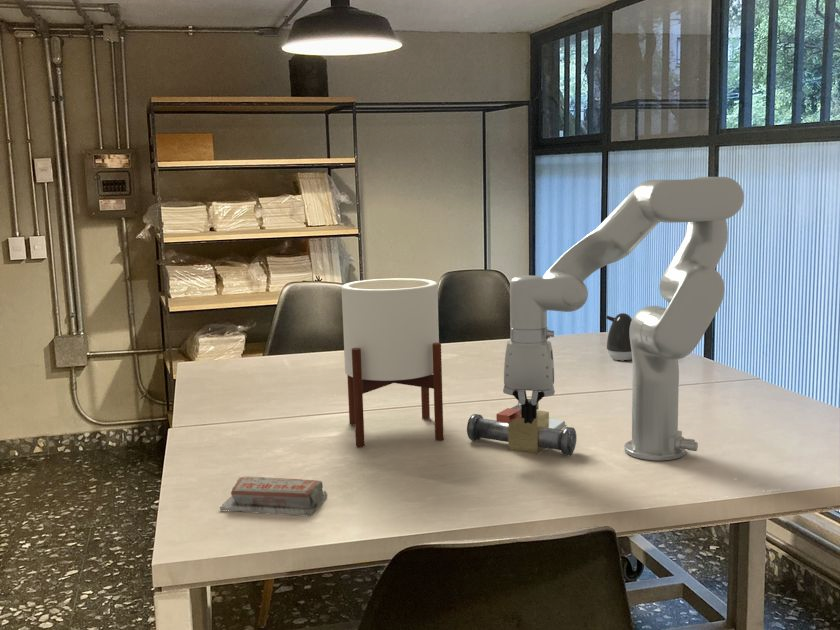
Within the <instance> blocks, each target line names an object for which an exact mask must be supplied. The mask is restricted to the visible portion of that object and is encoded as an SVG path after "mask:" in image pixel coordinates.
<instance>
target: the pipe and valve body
mask: <svg viewBox="0 0 840 630" xmlns="http://www.w3.org/2000/svg"><path fill="white" fill-rule="evenodd" d="M549 413H550V412H549V411H544V410H539V409H538V410H537V417H536V419H534V421H533V423H532V424H529V423H524V418H521V417H520V418H518V419H516V420H514V421H513V422H511V423H504V422H497V419H496V420H494V419H488V418H483V415H481V414H480V413H479V414H478V413H473V414H472V415H470V416H469V419H468V421H467V427H466V434H467V438H468V439H469V440H471V441H476V442H477V441H479V440H480V439H484V440H485V439H487V440H492V441H499V442H505V443H508V451H516V452H520V453H521V452H522V453H526V454H534V455H539V454H540V453H542V452H544V451H545V450H546V449H551V450H558V451H561V454H562V455H563V456H572V455H573V453H574V452H575V449H576V447H577V446H576V445H577V431H576V428H574V427H572V426H564V428H563V429H561V428H560V429H553V428H549V419H550V414H549Z"/></svg>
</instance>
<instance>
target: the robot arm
mask: <svg viewBox="0 0 840 630" xmlns="http://www.w3.org/2000/svg"><path fill="white" fill-rule="evenodd" d="M744 200H745V194H744V190H743V188H742V186H741V185H740V184H739V183H738V182H737V181H736V180H735V179H733V178H731V177H727V176H698V177H694V178H688V179H648V180H645V181H643V182H641V183H639V184H638V185H637V186H636V187H635V188H634V189H633V190H632V191H631V192H630V193H629V194H627V196H626V197H625V198H624V199H622V201H621V202H620V203H619V204H618V205H617V207H615V208H614V209H613V211H611V213H609V215H608V216H607V217H606V218H605V219H604V220H603V221H602V222H601V223H600V224H599V225H598V226H597V227H596V228H595V229H594V230H593V231H591V232H589V233H588V234H586V235H585V236H584V237H583V238H582V239H580V240H579V241H578V242H577V243H575V244H574V245H573V246H571V247H570V248H569V249H568V250H566V251H565V252H564V253H563V254H562V255H561V256H560V257H559V258H558V259H557V260H556V261H555V262H554V263H553V264H552V266H550V267H549V268H548V270H547V271H546V272H545V273H544V274H543V276H539V275H531V274H530V275H519V276H515V277H513V278H511V280H510V283H509V311H510V312H509V318H510V319H509V326H510V336H509V338H510V339H509V340H508V341H507V342H506V348H505V354H504V366H503V385H504V386H503V390H502V392H503V394H506V395H510V396H512V397H514V398H515V399H516V400H517V402H518V401H519V402H520V404H521V418H524V423H529V424H532V423H533V421H534V419H536V417H537V402H538V403H539V402H540V401H541V400H542V399H543V398H546V397H551V396H554V395H555V392H556V389H555V386H554V385H555V365H554V353H553V347H552V342H551V341H550V340H548V339H550V338H554V337H555V330H550V329H549V328H548V311H553V312H563V313H572V312H576V311H578V310H580V309H581V308H582V307H583V306H584V305H585V304H586V303H587V301H588V297H589V291H588V290H589V289H588V287H587V285H586V283H585V282H584V281H586V279H588V278H589V277H590V276H591V275H592V274H593V273H595V272H597V271H599V270H600V269H601V268H603V267H605V266H607V265H611V264H614V263H616V262H618V261H621V260H622V259H624V258H626V257H628V256H629V254H631V253H632V252H633V251H634V249H636V247H637V246H638V245H639V244H641V242H642V241H643V240H644V239H645V238H646V237H647V236H648V235H649V234H650V233H651V232H652V231H653V230H654V229H655V228H656V227H657V225H659V224H660V223H670V224H672V223H675V224H676V223H686V230H685V235H684V236H683V237H684V238H683V239H682V241H681V244H679V245H680V246H679V247H678V249H677V251H676V252H675V254H674V256H673V258H672V259H671V261H670V263H669V264H668V266H667V268H666V269H665V271H664V273H663V275H662V276H661V279H660V281H659V286H658V287H659V292H660V296H661V297H662V298H663V299H664V301H666V302H668V305H667V307H663V306H658V305H649V306H648V305H647V306H645V307H642V308H641V309H639V310H638V311H636V313H635V314H634V316H633V317H632V318H631V319H632V321H631V324H630V330H629V334H630V344H631V351H632V361H631V362H632V382H631V383H632V385H631V386H632V395H631V397H632V401H631V404H632V408H631V418H632V419H631V440H629V441H627V442H626V443H624V452H625V453H626V454H627V455H629V456H631V457H634V458H637V459H639V460H646V461H647V460H648V461H671V460H676V459H679V458H681V457H683V456H685V454H686V450H687V451H691V452H697V451H698V447H699V444H698V442H697V441H696V440H695V439H694V438H693V439H692V438H684V436H682V435H683V431H682V430H679V391H680V389H679V386H680V385H679V384H680V368H679V365H680V364H679V360H682V359H684V358H686V357H687V356H690V354H691V353H692V352H693V351H694V350H695V349H696V348H697V346H698V345H699V343H700V342H701V340H702V338H703V336H704V335H705V333H706V331H707V329H708V328H709V327H710V325H711V323H712V321H713V319H714V318H715V316H716V314H717V313H718V311H719V309H720V307H721V304H722V303H723V300H724V296H725V281H724V279H723V277H722V275H721V274H720V273H719V271H718V270H716V268H717V266H718V264H719V263H720V261H721V258H722V256H723V255H724V252H725V250H726V247H727V244H728V238H729V237H728V235H729V233H728V223H727V219H730V218H732V217H734V216H735V215H737V213H739V212H740V210H741V209H742V207H743V204H744ZM527 391H528V392H529V391H532V392H531V398H530V399H531V400H530V402H529V401H528V399H529V398H528V396H527V395H528V394H527Z"/></svg>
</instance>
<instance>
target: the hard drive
mask: <svg viewBox="0 0 840 630" xmlns="http://www.w3.org/2000/svg"><path fill="white" fill-rule="evenodd" d="M565 426H566V421H565V420H562V419H557V418H556V419H555V418H549V428H553V429H560V430H561V429H562V428H563V427H565Z"/></svg>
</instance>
